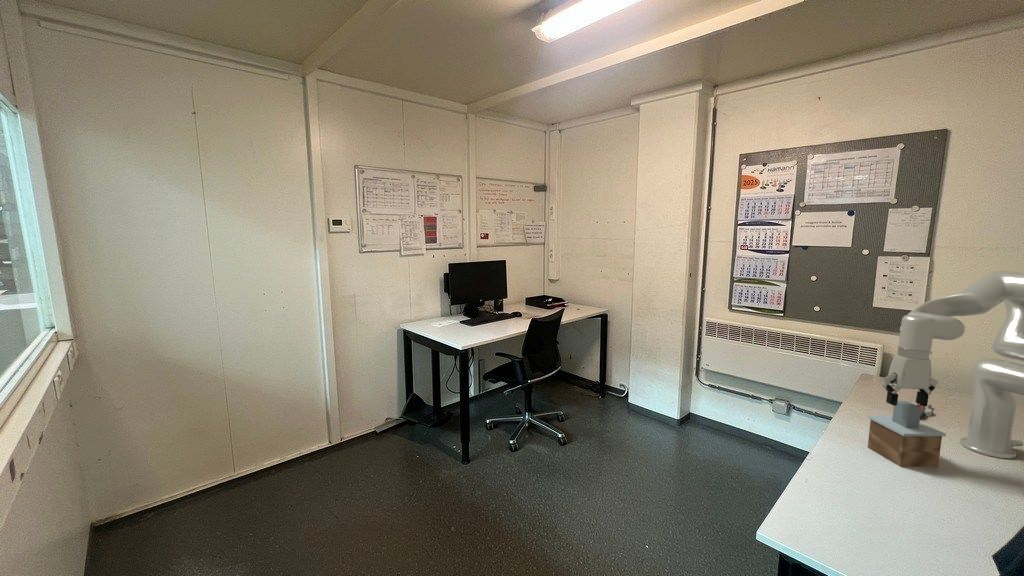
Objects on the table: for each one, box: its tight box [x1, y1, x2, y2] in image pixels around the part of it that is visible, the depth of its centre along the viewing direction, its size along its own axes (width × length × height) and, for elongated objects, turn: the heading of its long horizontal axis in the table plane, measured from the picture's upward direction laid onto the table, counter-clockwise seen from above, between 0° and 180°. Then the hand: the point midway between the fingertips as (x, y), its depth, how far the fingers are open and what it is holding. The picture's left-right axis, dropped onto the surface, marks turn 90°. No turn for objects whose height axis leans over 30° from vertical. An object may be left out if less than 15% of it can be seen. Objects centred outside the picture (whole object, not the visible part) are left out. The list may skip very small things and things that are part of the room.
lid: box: [867, 400, 947, 437], centre depth 134 cm, size 13×13×9 cm
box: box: [867, 419, 943, 468], centre depth 135 cm, size 12×12×10 cm
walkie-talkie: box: [909, 400, 933, 420], centre depth 170 cm, size 9×4×20 cm
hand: (906, 404), depth 133 cm, fingers open, 9 cm apart
